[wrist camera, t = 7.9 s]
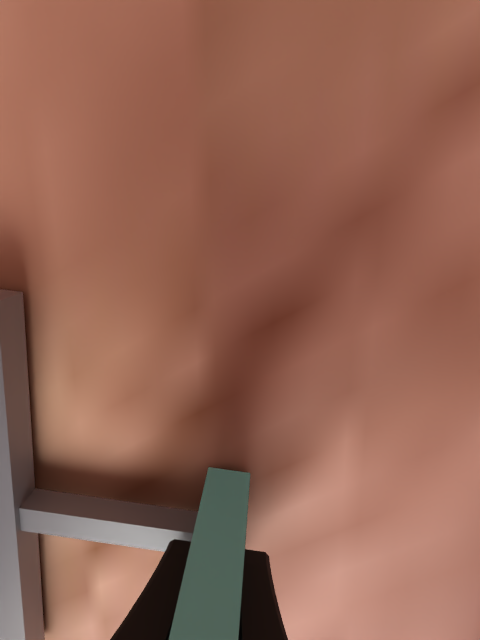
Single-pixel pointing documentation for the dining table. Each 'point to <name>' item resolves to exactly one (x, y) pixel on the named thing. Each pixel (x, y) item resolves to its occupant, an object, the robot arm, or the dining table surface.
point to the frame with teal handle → (107, 519)
